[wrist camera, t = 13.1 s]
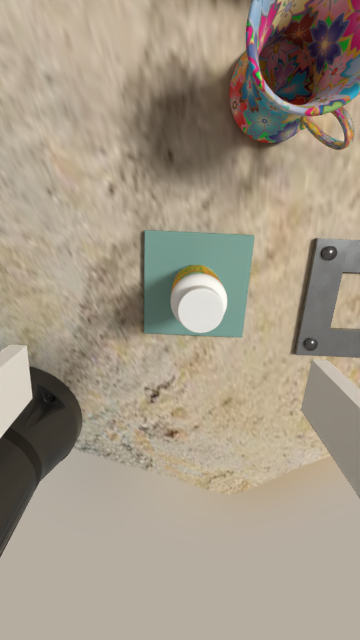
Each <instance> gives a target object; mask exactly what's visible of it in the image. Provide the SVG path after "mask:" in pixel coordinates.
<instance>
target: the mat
mask: <svg viewBox="0 0 360 640" xmlns="http://www.w3.org/2000/svg"><path fill="white" fill-rule="evenodd" d="M253 243H254V235H238V234H216V233H195V232H174V231H153V230H145V269H144V333H157V334H179V335H202V336H225V337H242V334H243V326H244V318H245V309H246V301H247V293H248V285H249V276H250V268H251V260H252V252H253ZM192 264H201V265H205V266H207V267H209V268H210V269H212V270H213V271H214V272H215V274H216V275H217V277H218V279H219V280H220V282H221V283H222V285H223V287H224V289H225V291H226V294H227V308H226V311H225V313H224V315H223V318H222V321H221V322H220V324H219V325H218V326H217V327H216V328H214V329H213V330H211V331H209V332H205V333H196V332H192V331H190V330H188V329H187V328H185V327H184V326H183V325H182V324H181V323H180V322H179V321H178V320H177V319H176V318H175V316H174V314H173V312H172V309H171V303H170V300H171V292H172V286H173V281H174V278H175V276H176V275H177V273H178V272H179V271H180V270H181V269H182V268H184V267H186V266H188V265H192Z"/></svg>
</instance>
